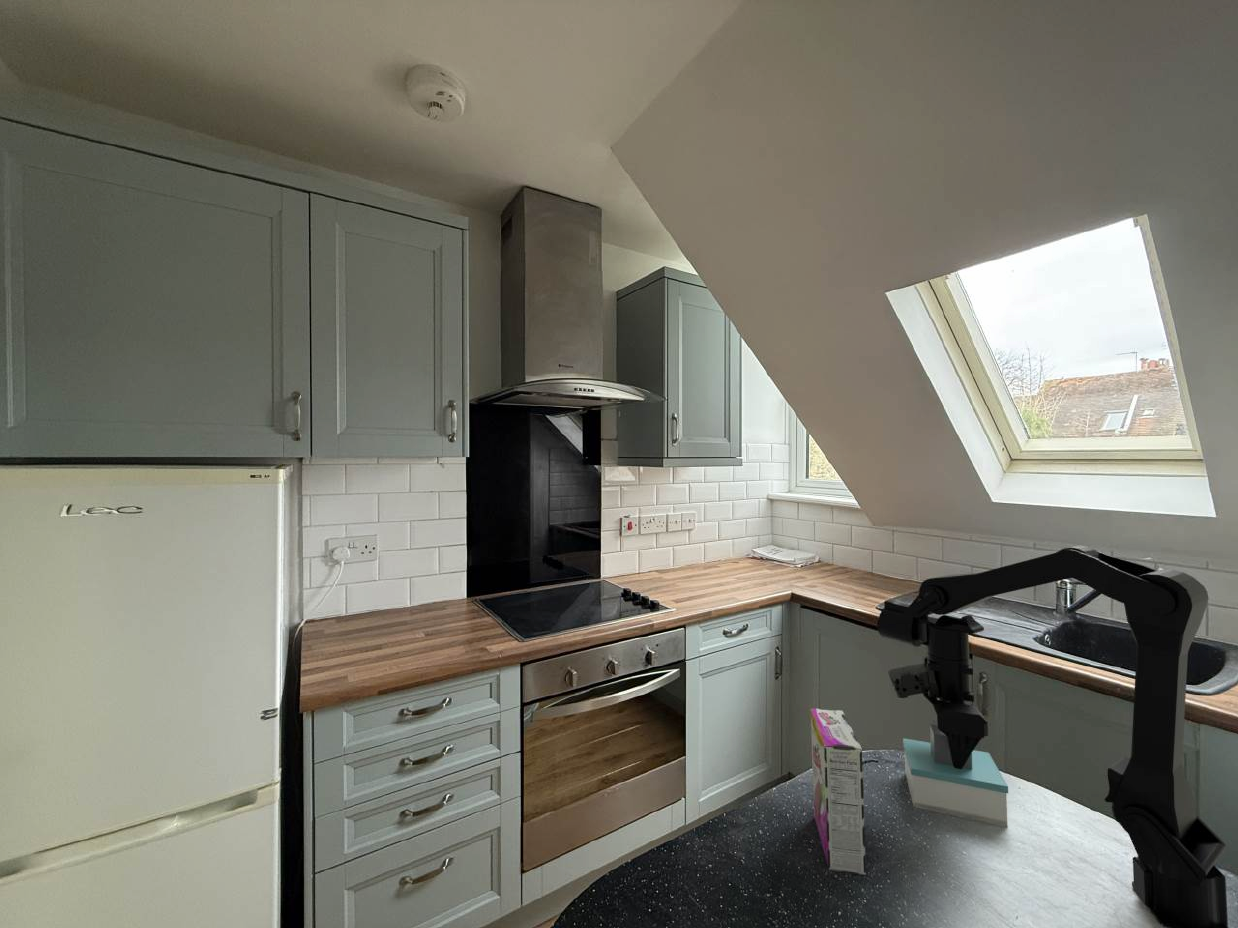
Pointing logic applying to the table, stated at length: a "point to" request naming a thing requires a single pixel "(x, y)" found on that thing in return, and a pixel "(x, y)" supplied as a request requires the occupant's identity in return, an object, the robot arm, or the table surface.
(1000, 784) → the lid
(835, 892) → the table surface
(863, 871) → the candy bar box
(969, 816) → the storage box
